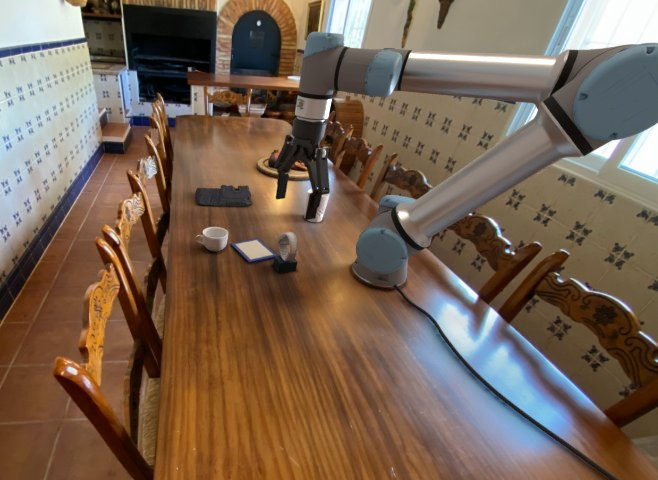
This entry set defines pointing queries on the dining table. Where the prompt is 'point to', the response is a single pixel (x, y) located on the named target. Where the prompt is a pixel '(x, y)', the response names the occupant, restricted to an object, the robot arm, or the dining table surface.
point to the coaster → (253, 250)
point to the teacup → (214, 238)
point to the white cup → (320, 209)
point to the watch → (286, 260)
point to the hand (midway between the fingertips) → (294, 208)
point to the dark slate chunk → (224, 196)
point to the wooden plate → (267, 163)
